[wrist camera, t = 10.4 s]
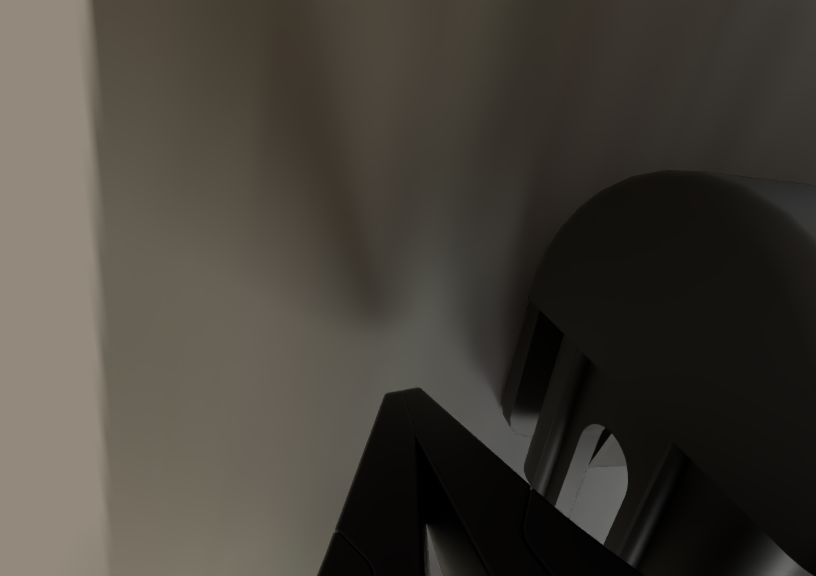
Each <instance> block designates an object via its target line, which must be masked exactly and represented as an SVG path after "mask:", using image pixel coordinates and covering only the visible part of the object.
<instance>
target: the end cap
mask: <svg viewBox="0 0 816 576" xmlns="http://www.w3.org/2000/svg"><path fill="white" fill-rule="evenodd" d="M503 415H504V417H505V419H506V420H507V422H508V424H509V426H510V428H511V429H512V430H513V431H514V432H515V433H516V434H519V435H523V436H533V437H532V441H531V444H530V447H529V451H528V454H527V457H526V460H525V464H524V472H525V475H526V478H527V480H528V481H529V483H530V485H531V489H535V490H536V491H537V492H538V493H540V494H541V495H542V496H543V497H544V498H545V499H546V500H547V501H549V502H550V503H551V504H552V505H553V506H554V507H556V508H557V509H558V510H559V511H560V512H562V513H563V514H564V515H565V516H566V517H569V515H570V512H571V510H572V507H573V504H574V502H575V499H576V497H577V494H578V491H579V489H580V486H581V484H582V481H583V478H584V476H585V473H586V471H587V468H588V467H607V466H627V470H628V488H627V492H626V495H625V498H624V500H623V502H622V505H621V507H620V509H619V511H618V513H617V516H616V518H615V520H614V522H613V525H612V527H611V529H610V531H609V534H608V536H607V538H606V540H605V542H604V545H603V546H605V547H606V548H607V549H609V550H610V551H612V552H613V553H614V554H616V555H617V556H618V557H620V558H621V559H623V560H624V561H625V562H627V563H628V564H630V565H631V566H632V567H634V568H635V569H636V570H638V571H639V572H641V573H642V574H643V575H645V576H816V185H808V184H800V183H791V182H783V181H775V180H767V179H759V178H750V177H742V176H734V175H726V174H717V173H709V172H695V171H676V170H664V171H658V172H653V173H648V174H643V175H638V176H633V177H630V178H628V179H626V180H624V181H621V182H619V183H617V184H615V185H613V186H611V187H609V188H607V189H604V190H602V191H600V192H599V193H598V194H596V195H595V196H594V197H592V198H591V199H590V200H589V201H587V202H586V203H585V204H583V205H582V206H581V207H579V208H578V210H577V211H576V212H575V213H574V214H573V215H572V216H571V217H570V219H569V220H568V221H567V222H566V223H565V224H564V225H563V226H562V227H561V229H560V230H559V231H558V233H557V235H556V236H555V238H554V239H553V241H552V242H551V244H550V246H549V247H548V249H547V250H546V252H545V255H544V257H543V259H542V261H541V263H540V266H539V268H538V270H537V272H536V275H535V278H534V281H533V284H532V288H531V291H530V294H529V302H528V306H527V310H526V314H525V318H524V322H523V326H522V330H521V333H520V337H519V341H518V345H517V349H516V353H515V357H514V360H513V364H512V368H511V372H510V376H509V380H508V384H507V387H506V391H505V395H504V399H503Z"/></svg>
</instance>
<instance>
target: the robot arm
mask: <svg viewBox="0 0 816 576" xmlns="http://www.w3.org/2000/svg"><path fill="white" fill-rule="evenodd" d="M426 524H427V527H428V530H429V533H430V536H431V539H432V542H433V545H434V548H435V551H436V555H437V558H438V561H439V564H440V567H441V570H442V573H443V576H645V575H643V574H642V573H641V572H639V571H638V570H636V569H635V568H634V567H632V566H631V565H630V564H628V563H627V562H625V561H624V560H623V559H621V558H620V557H618V556H617V555H616V554H614V553H613V552H612V551H610V550H609V549H607V548H606V547H605V546H603V545H602V544H601V543H600V542H598V541H597V540H596V539H594V538H593V537H592V536H590V535H589V534H588V533H586V532H585V531H584V530H582V529H581V528H580V527H578V526H577V525H576V524H575V523H573V522H572V521H571V520H570V519H569V518H568V517H566V516H565V515H564V514H563V513H562V512H560V511H559V510H558V509H557V508H556V507H554V506H553V505H552V504H551V503H550V502H549V501H547V500H546V499H545V498H544V497H543V496H542V495H541V494H540V493H538V492H537V491H536V490H535V489H531V486H530V485H529V484H528V483H527V482H526V481H525V480H524V479H522V478H521V477H520V476H519V475H518V474H517V473H516V472H515V471H513V470H512V469H511V468H510V467H509V466H508V465H507V464H506V463H504V462H503V461H502V460H501V459H500V458H499V457H498V456H496V455H495V454H494V453H493V452H492V451H491V450H490V449H489V448H487V447H486V446H485V445H484V444H483V443H482V442H481V441H480V440H478V439H477V438H476V437H475V436H474V435H473V434H472V433H471V432H469V431H468V430H467V429H466V428H465V427H464V426H463V425H462V424H460V423H459V422H458V421H457V420H456V419H455V418H454V417H452V416H451V415H450V414H449V413H448V412H447V411H446V410H445V409H443V408H442V407H441V406H440V405H439V404H438V403H437V402H436V401H434V400H433V399H432V398H431V397H430V396H429V395H428V394H427V393H425V392H424V391H423V390H422V389H421V388H412V389H406V390H402V391H396V392H390V393H386V394H385V396H384V398H383V400H382V403H381V406H380V409H379V411H378V414H377V417H376V419H375V422H374V425H373V428H372V430H371V433H370V436H369V438H368V441H367V444H366V447H365V449H364V452H363V455H362V457H361V460H360V463H359V466H358V468H357V471H356V474H355V476H354V479H353V482H352V485H351V487H350V490H349V493H348V495H347V498H346V501H345V504H344V506H343V509H342V512H341V514H340V517H339V520H338V523H337V525H336V528H335V531H336V532H334V533H333V536H332V538H331V541H330V544H329V546H328V549H327V552H326V555H325V557H324V560H323V562H322V564H321V567H320V569H319V572H318V574H317V576H431V575H430V563H429V552H428V540H427V528H426Z"/></svg>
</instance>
